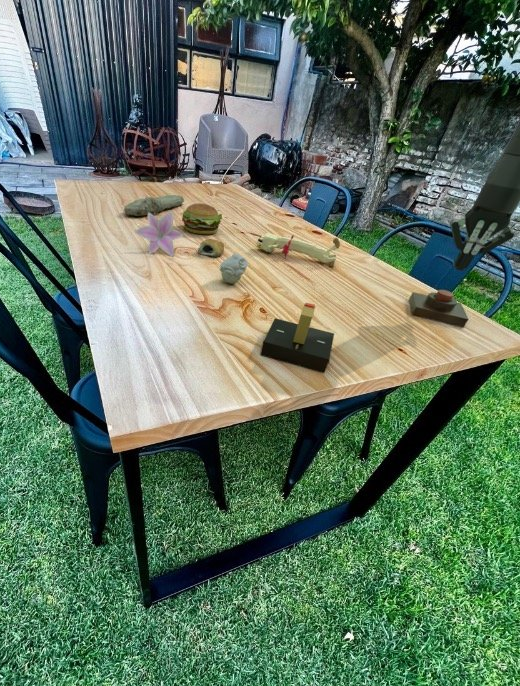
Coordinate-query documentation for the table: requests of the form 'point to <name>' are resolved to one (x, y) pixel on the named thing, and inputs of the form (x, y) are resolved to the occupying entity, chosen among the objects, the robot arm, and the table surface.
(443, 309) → the brown base
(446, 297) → the bell button
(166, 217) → the lily
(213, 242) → the pastry
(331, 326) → the table surface
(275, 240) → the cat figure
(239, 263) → the frog figurine
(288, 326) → the plate
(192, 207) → the food
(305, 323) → the lock knob
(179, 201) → the elongated rock
